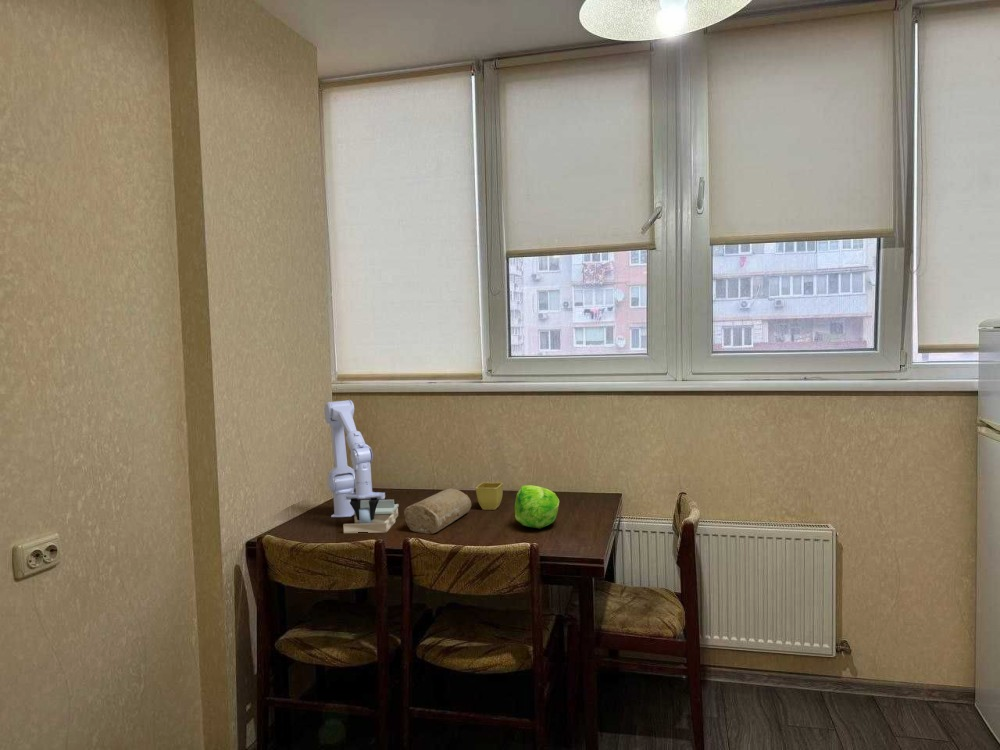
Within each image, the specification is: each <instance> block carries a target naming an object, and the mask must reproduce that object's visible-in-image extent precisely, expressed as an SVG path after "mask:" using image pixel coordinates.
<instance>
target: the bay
mask: <svg viewBox="0 0 1000 750" xmlns="http://www.w3.org/2000/svg"><path fill="white" fill-rule="evenodd" d="M398 517H399V507H397V508H396V510H395V511H394V512H393V513H392V514H375V516H374V519H373V520H372V523H363V524H360V521H359V520H357V517H356V514H354V515H353V518H354V523H343V525H342V526H343V534H359V533H358V532H368V533H367V534H369V533H375V534H376V533H377V534H378V533H387V532H388V531H389V530H390V529H391V528H392V527H393V526H394V524H395V523H396V521H397V520H396V519H397V518H398Z"/></svg>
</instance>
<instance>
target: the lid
mask: <svg viewBox="0 0 1000 750" xmlns="http://www.w3.org/2000/svg"><path fill="white" fill-rule="evenodd" d="M370 500H371V499H361V503H360V508H364V507H370V506H369V501H370ZM396 508H399V503H396V504H395V499H379V501H378V504H377V507H376V510H375V514H392V513H393V512H394V511H395V510H396ZM354 515H355V512H354Z"/></svg>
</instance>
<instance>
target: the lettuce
mask: <svg viewBox="0 0 1000 750" xmlns="http://www.w3.org/2000/svg"><path fill="white" fill-rule="evenodd" d="M559 506H560V499H559V497H558V496H557V494H556V493H555V492H553V491H552V490H550V489H548V488H545V487H542V486H538V485H531V484H529V485H526V484H525V485H522V486H521V487H520V489H519V490H518V491H517V493H516V497H515V502H514V514H515V515H514V516H515V519H516V521H517V522H518V523H520V524H521V525H522V526H525V527H528V528H531V529H534V528H535V529H540V530H541V529H543V528H545V527H547V526H549V525H551V524H553V523H554V521H555V520H556V518H557V515H558V513H559Z"/></svg>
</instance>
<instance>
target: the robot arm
mask: <svg viewBox="0 0 1000 750" xmlns="http://www.w3.org/2000/svg"><path fill="white" fill-rule="evenodd" d="M354 413H355V405H354V402H353V401H352V400H351V399H347V400H336V401H326V403H325V405H324V418H325V423H326V424H327V425H329V426H330V432H331V433H330V434H331V444H332V453H333V454H332V455H333V463H334V466H333V468H332V469H330V470H329V472H328V474H327V488H328V491H330V493H332V495H333V507H334V508H333V511H334V513H333V514H331V516H330V517H331V518H352V516H353V517H354V515H355V514H356V517H357V520H359V509H360V503H361V500H370V501H369V506H370V518H371V520H373V519H374V516H375V510H376V507H377V504H378V501H379V500H385V498H386V492H379V491H378V492H377V491H376V492H375V491H373V483H372V480H373V479H372V468H371V467H372V465H371V463H372V462H373V460H374V455H373V450H372V448H371V446H370V445H368V444H366V442H365V439H364V436H363V435H362V432H361V431H359V430H357V427H356V423H355V421H354ZM345 433H346V435H345ZM346 443H347V445H348V448H349V450H350V460H351V463H352V467H351V466H349V465H348V459H347V458H348V457H347V456H348V455H347V448H346V447H347V446H346ZM354 512H355V514H354Z"/></svg>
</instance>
